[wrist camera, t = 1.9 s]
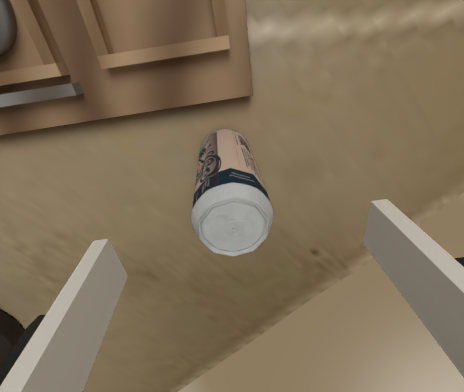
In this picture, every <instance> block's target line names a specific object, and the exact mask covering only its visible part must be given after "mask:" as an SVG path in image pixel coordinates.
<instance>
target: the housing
mask: <svg viewBox="0 0 464 392" xmlns="http://www.w3.org/2000/svg"><path fill="white" fill-rule="evenodd" d="M251 95H253V90H252V79H251V67H250V56H249V44H248V33H247V21H246V10H245V0H0V135H4V134H11V133H17V132H23V131H30V130H36V129H42V128H49V127H55V126H61V125H68V124H74V123H80V122H87V121H93V120H99V119H106V118H112V117H118V116H125V115H131V114H137V113H143V112H150V111H156V110H162V109H169V108H175V107H181V106H188V105H194V104H200V103H207V102H213V101H219V100H226V99H232V98H238V97H245V96H251Z"/></svg>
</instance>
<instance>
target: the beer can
mask: <svg viewBox="0 0 464 392" xmlns="http://www.w3.org/2000/svg"><path fill="white" fill-rule="evenodd" d="M272 221H273V209H272V205H271V203H270V200H269V197H268V195H267V192H266V189H265V187H264V184H263V181H262V179H261V176H260V173H259V171H258V168H257V165H256V163H255V160H254V157H253V155H252V152H251V149H250V147H249V144H248V142H247V140H246V139H245V138H244V137H243V136H242V135H241V134H240V133H238V132H236V131H234V130H230V129H220V130H217V131H214V132H212V133H211V134H209V135H208V136H207V137H206V138H205V140H204V141H203V142H202V145H201V147H200V155H199V162H198V170H197V178H196V185H195V193H194V201H193V209H192V221H191V222H192V226H193V229H194V231H195V233H196V235H197V236H198V237H199V238H200V241H202V242H203V243H204V244H205V245H206V246H207V247H208V248H209V249H210V250H211V251H212V252H214V253H218V254H223V255H228V256H233V257H234V256H238V255H241V254H245V253H248V252H251V251H254V250H255V249H256V248H257V247H258V246H259V245H260V244H261V243H262V242H263V241H264V240H265V239H266V238H267V234H268V232H269V230H270V228H271V225H272Z"/></svg>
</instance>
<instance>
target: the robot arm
mask: <svg viewBox="0 0 464 392" xmlns="http://www.w3.org/2000/svg"><path fill="white" fill-rule="evenodd" d="M363 244H364V245H365V246H366V248H367V249H368V250H369V252H370V253H371V254H372V256H373V257H374V258H375V260H376V261H377V262H378V264H379V265H380V266H381V268H382V269H383V270H384V272H385V273H386V274H387V276H388V277H389V278H390V280H391V281H392V282H393V284H394V285H395V286H396V288H397V289H398V290H399V292H400V293H401V294H402V296H403V297H404V298H405V300H406V301H407V302H408V304H409V305H410V306H411V308H412V309H413V310H414V312H415V313H416V314H417V316H418V317H419V318H420V320H421V321H422V322H423V324H424V325H425V326H426V328H427V329H428V330H429V332H430V333H431V334H432V336H433V337H434V338H435V340H436V341H437V342H438V344H439V345H440V346H441V348H442V349H443V350H444V352H445V353H446V354H447V356H448V357H449V358H450V360H451V361H452V362H453V364H454V365H455V366H456V368H457V369H458V370H459V372H460V373H461V374H462V376H463V377H464V257H462V258H455V259H454V258H453V257H452V256H451V255H450V254H448V253H447V252H446V251H445V250H444V249H443V248H442V247H440V246H439V245H438V244H437V243H436V242H435V241H434V240H433V239H432V238H430V237H429V236H428V235H427V234H426V233H424V231H422V230H421V229H420V228H419V227H418V226H417V225H416V224H415V223H413V222H412V221H411V220H410V219H409V218H408V217H407V216H406V215H404V214H403V213H402V212H401V211H400V210H399V209H398V208H396V207H395V206H394V205H393V204H392V203H391V202H390V201H389V200H387V199H383V200H376V201H371V204H370V210H369V215H368V220H367V226H366V231H365V236H364V242H363ZM127 277H128V275H127V273H126V272H125V270H124V268H123V266H122V264H121V262H120V260H119V258H118V256H117V254H116V253H115V251H114V249H113V247H112V245H111V243H110V241H109V239H103V240H96V241H93V242H92V244H91V245H90V247H89V248H88V250H87V252H86V253H85V255H84V256H83V258H82V259H81V261H80V263H79V264H78V266H77V267H76V269H75V270H74V272H73V273H72V275H71V277H70V278H69V280H68V281H67V283H66V284H65V286H64V287H63V289H62V291H61V292H60V294H59V295H58V297H57V298H56V300H55V301H54V303H53V305H52V306H51V308H50V309H49V311H48V312H47V314H46V315H39V316H38V317H37V318H36V319H35V320H34V321H33V322H32V323H31V324H30V325H29V326H28V327H27V328H26V329H25V331H24V330H23V329H22V327H21V326H20V325H19V323H18V322H17V321H15V320H14V319H13V318H12V317H10V316H9V315H8V314H6V313H4V312H3V311H1V310H0V392H83V389H84V387H85V384H86V382H87V379H88V376H89V374H90V371H91V369H92V366H93V364H94V361H95V359H96V356H97V353H98V351H99V348H100V346H101V343H102V341H103V338H104V336H105V333H106V330H107V328H108V325H109V323H110V320H111V318H112V315H113V313H114V310H115V307H116V305H117V302H118V300H119V297H120V295H121V292H122V290H123V287H124V284H125V282H126V279H127Z"/></svg>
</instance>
